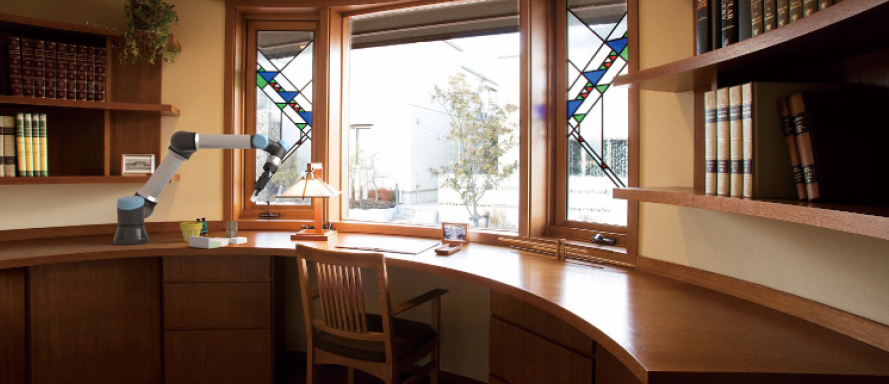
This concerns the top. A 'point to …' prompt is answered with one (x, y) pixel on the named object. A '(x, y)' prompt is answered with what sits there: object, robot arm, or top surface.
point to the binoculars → (203, 227)
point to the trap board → (214, 241)
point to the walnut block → (231, 229)
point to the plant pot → (190, 229)
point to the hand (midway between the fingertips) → (252, 201)
